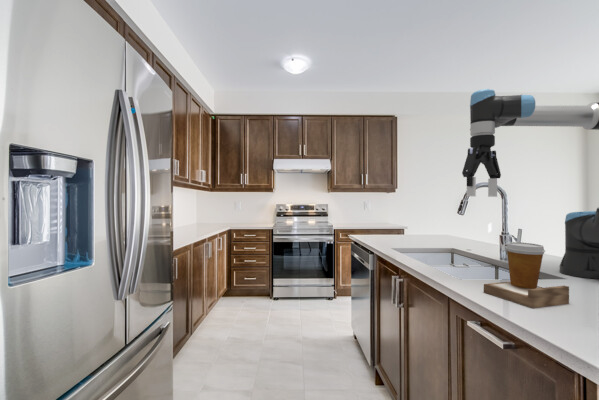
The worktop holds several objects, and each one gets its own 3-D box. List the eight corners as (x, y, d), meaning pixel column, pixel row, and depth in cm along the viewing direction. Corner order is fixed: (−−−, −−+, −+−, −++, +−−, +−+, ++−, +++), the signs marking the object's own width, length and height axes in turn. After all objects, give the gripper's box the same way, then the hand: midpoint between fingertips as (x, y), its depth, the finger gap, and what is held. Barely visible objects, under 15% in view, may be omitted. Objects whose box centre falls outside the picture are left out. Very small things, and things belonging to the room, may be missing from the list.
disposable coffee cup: (551, 291, 90) (553, 247, 90) (515, 289, 91) (516, 246, 91) (530, 281, 99) (532, 242, 99) (497, 280, 100) (499, 241, 100)
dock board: (516, 288, 102) (516, 274, 102) (569, 303, 87) (569, 286, 87) (483, 292, 98) (483, 277, 98) (532, 308, 84) (532, 290, 84)
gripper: (490, 140, 125) (490, 196, 125) (450, 133, 111) (450, 196, 111) (511, 137, 118) (511, 196, 118) (472, 129, 105) (472, 196, 105)
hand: (482, 196), depth 115 cm, fingers open, 13 cm apart
